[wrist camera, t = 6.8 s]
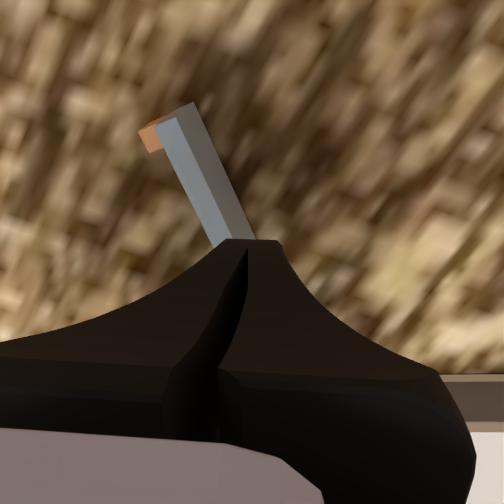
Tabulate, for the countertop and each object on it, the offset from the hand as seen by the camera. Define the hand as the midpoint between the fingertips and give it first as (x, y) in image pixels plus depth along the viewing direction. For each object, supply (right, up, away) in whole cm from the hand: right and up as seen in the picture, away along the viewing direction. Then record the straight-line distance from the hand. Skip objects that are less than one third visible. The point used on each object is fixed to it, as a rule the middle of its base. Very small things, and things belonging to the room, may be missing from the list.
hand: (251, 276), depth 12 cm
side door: (0, 0, +9) cm, 9 cm away
